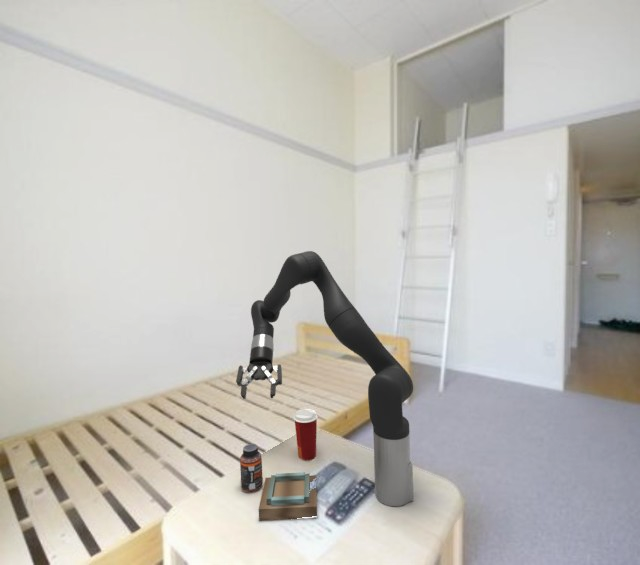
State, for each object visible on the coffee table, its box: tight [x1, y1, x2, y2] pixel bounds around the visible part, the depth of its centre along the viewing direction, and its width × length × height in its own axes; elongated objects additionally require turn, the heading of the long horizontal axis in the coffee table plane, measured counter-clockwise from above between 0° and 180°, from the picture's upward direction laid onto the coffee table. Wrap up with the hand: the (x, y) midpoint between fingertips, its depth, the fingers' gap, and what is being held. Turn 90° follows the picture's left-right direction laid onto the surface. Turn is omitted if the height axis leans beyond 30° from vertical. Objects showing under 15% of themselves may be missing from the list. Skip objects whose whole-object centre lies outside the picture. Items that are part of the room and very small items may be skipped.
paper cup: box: [293, 408, 319, 461], centre depth 109 cm, size 8×8×14 cm
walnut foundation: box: [258, 471, 318, 522], centre depth 89 cm, size 14×12×4 cm
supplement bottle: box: [239, 443, 264, 493], centre depth 95 cm, size 6×6×11 cm
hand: (257, 397), depth 105 cm, fingers open, 8 cm apart
